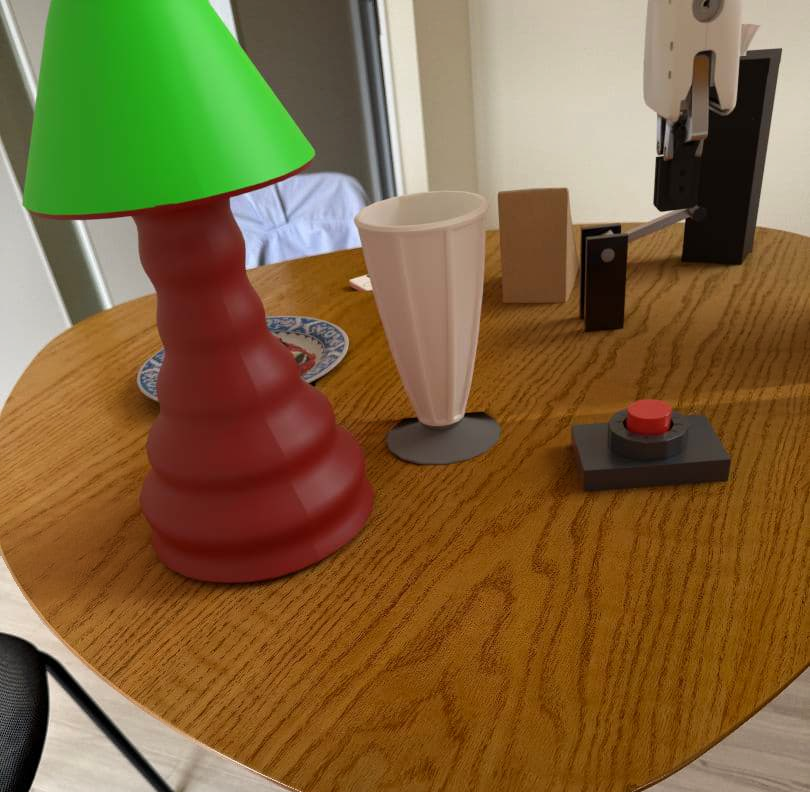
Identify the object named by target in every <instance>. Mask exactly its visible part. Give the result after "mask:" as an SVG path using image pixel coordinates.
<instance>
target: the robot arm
mask: <svg viewBox="0 0 810 792" xmlns="http://www.w3.org/2000/svg"><path fill="white" fill-rule="evenodd" d="M646 5H647V7H646V18H645V31H644V32H645V33H644V48H643V49H644V52H643V69H642V70H643V72H642V73H643V74H642V86H643V87H642V91H643V99H644V100H643V101H644V103H645V105H646V106H647V107H648V108H650V109H651V110H652V111H653V112H655V113H656V146H655V147H656V155H657V156H655V163H654V164H655V165H654V182H653V199H652V200H653V201H652V205H653V206H654V207H655V208H656V210H657V211H658V212H660V213H664V212H672V211H674V210H681V209H689V208H693V207H695V206H696V204H697V197H698V185H699V174H700V162H701V154H702V148H703V140H704V139H706V138H707V135H708V112H709V109H710V110H712V111H714V112H716V113H718V114H720V115H728V114H730V113H731V112H732V110H733V109H734V107H735V105H736V99H737V87H738V73H739V58H740V43H741V26H742V24H743V0H647V4H646Z"/></svg>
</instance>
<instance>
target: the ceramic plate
mask: <svg viewBox="0 0 810 792" xmlns="http://www.w3.org/2000/svg"><path fill="white" fill-rule="evenodd" d="M266 322H267V326H268V328H269V331H270V332H271V333H272V334H273V335H274V336H275V337H276V338H277V339H278V340H279V341H280V342H282V343H283V344H284V345H285V346H286V347H287V348H288V349H289V350H290V352H291V353H292V354H293V356H294V358H295V360H296V363H297V366H298V370H299V374H300V378H301V379H302V380H304V381H305V382H307V383H309V384H311V383H312V382H314V381H316V380H318V379H319V378H322V377H323V376H325V375H327V374H328V373H330V371H331V370H333V369H334V368H335V367H337V366H338V365H339V364H340V362H341V361H342V360H344V358H345V357H346V355H347V352H348V350H349V346H350V340H349V337H348V334H347V333H346V332H345V331H344V330H343V329H342V328H341V327H339V326H338V325H336V324H334V323H331V322H329V321H327V320H324V319H319V318H314V317H309V316H296V315H276V316H275V315H273V316H266ZM164 356H165V351H164V347H162V348H161V349H160V350H157V351H156V352H155V353H154V354H153V355H151V356H149V358H148V359H147V360H145V362H143V364H142V366H141V367H140V368H139V370H138V373H137V376H136V383H137V387H138V388H139V390H140V392H141V393H142V394H143V395H144V396H146V397H147V398H149V399H150V400H153V401H155V402H158V403H159V401H158V398H157V393H156V381H157V377H158V373H159V371H160V368H161V365H162V363H163V360H164Z"/></svg>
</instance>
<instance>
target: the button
mask: <svg viewBox="0 0 810 792" xmlns="http://www.w3.org/2000/svg"><path fill="white" fill-rule="evenodd" d="M626 408H627V423H626V427H627V430H629V431H631V432H633V433H635V434H641V435H647V436H648V435H660V434H662V433H665V432H667V431H668V430H669V429H670V421H671V409H672V406H671V405H670V404H669V403H668V402H665V401H663V400H659V399H654V398H653V399H651V398H646V399H639V400H636V401H633V402H631V403H630V404H629V405H628V406H627V407H626Z"/></svg>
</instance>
